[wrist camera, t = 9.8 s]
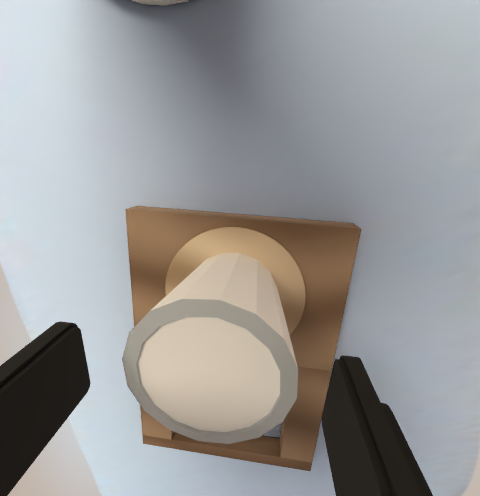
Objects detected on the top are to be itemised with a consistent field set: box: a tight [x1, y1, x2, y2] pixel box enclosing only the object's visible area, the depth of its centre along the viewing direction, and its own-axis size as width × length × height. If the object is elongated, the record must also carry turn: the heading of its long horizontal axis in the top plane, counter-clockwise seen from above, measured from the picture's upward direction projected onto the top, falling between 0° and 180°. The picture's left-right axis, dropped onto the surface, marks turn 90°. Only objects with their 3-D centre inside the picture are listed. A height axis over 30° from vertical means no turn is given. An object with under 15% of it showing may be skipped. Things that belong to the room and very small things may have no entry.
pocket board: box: [126, 206, 361, 471], centre depth 19 cm, size 20×14×2 cm
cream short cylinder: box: [122, 253, 298, 444], centre depth 13 cm, size 7×7×7 cm
